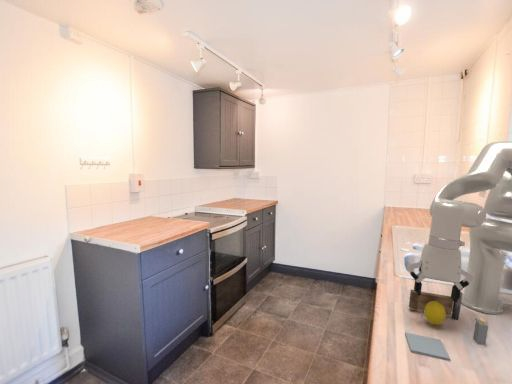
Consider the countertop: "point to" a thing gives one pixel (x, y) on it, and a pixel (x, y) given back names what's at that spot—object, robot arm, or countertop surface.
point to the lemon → (435, 313)
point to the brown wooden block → (421, 301)
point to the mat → (427, 346)
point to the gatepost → (456, 308)
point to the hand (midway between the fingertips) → (435, 296)
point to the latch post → (480, 332)
